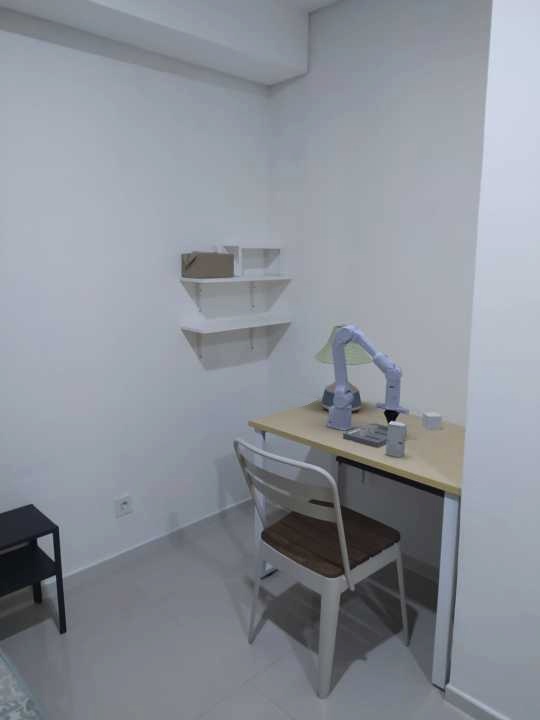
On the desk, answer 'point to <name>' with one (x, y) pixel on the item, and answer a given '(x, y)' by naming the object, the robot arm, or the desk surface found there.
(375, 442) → the panel
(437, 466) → the desk surface
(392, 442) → the skincare box
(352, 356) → the desk lamp
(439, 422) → the grey cube
